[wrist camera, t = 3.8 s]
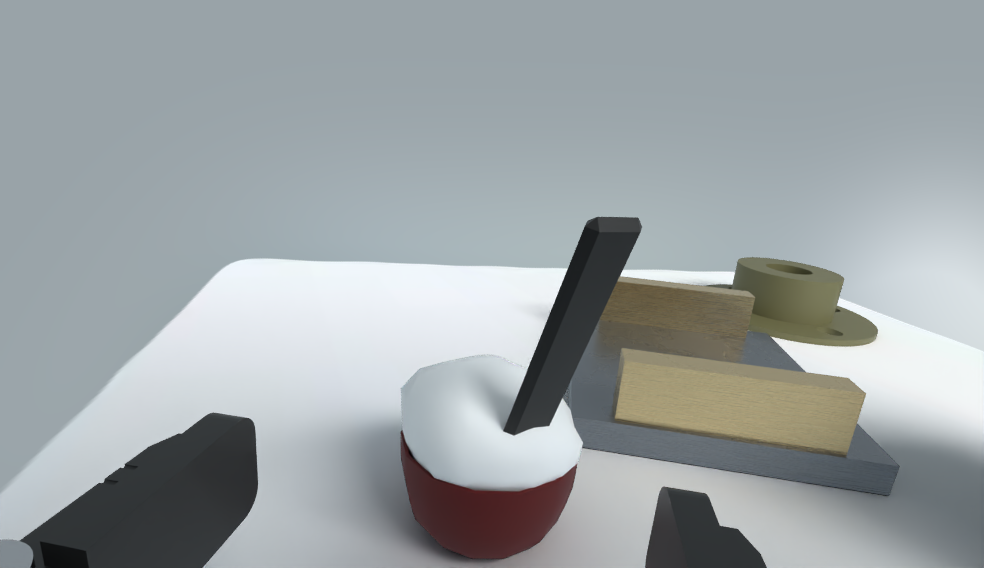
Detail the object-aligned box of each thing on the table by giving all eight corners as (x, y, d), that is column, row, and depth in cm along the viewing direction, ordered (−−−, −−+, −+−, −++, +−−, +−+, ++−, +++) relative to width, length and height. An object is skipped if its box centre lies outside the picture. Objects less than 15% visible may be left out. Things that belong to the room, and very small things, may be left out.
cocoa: (406, 460, 23) (406, 185, 20) (545, 456, 24) (564, 190, 21) (389, 664, 14) (383, 212, 11) (616, 647, 15) (668, 219, 12)
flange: (780, 293, 38) (938, 295, 41) (669, 247, 52) (794, 251, 55) (765, 352, 39) (919, 350, 43) (661, 292, 53) (783, 293, 57)
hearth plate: (762, 352, 38) (776, 293, 37) (889, 495, 23) (921, 403, 21) (569, 327, 40) (577, 270, 38) (567, 444, 24) (579, 356, 23)
